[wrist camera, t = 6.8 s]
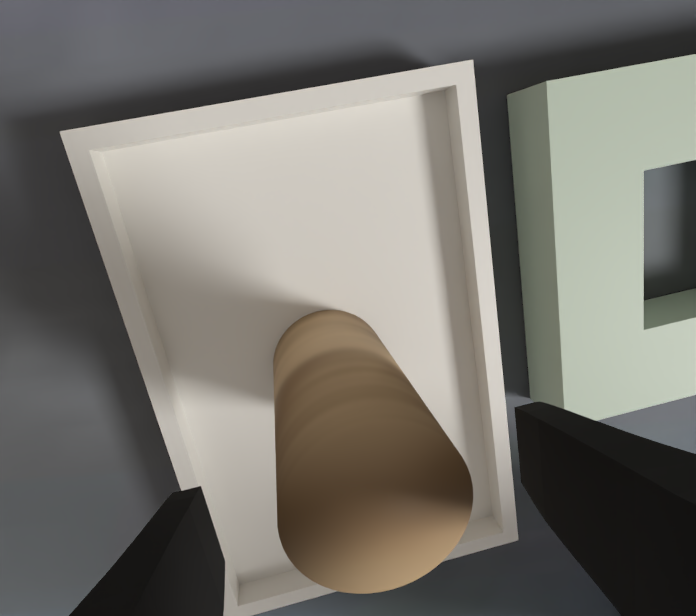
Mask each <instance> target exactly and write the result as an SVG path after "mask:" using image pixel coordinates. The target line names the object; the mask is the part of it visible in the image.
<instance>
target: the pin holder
mask: <svg viewBox="0 0 696 616" xmlns="http://www.w3.org/2000/svg"><path fill="white" fill-rule="evenodd" d="M507 104H508V117H509V130H510V143H511V156H512V169H513V182H514V195H515V208H516V220H517V233H518V246H519V259H520V272H521V285H522V298H523V311H524V324H525V337H526V349H527V362H528V375H529V388H530V399H531V400H532V401H534V402H538V401H540V402H544V403H547V404H551V405H554V406H557V407H560V408H562V409H565V410H568V411H571V412H574V413H576V414H579V415H582V416H584V417H587V418H590V419H592V420H595V421H597V420H600V419H604V418H608V417H612V416H616V415H620V414H623V413H627V412H631V411H635V410H639V409H643V408H647V407H650V406H654V405H658V404H662V403H666V402H670V401H673V400H677V399H681V398H685V397H689V396H693V395H696V288H695V289H691V290H686V291H682V292H678V293H674V294H669V295H665V296H661V297H657V298H652V299H648V300H644V170H649V169H654V168H659V167H663V166H668V165H673V164H678V163H683V162H688V161H693V160H696V54H693V55H688V56H682V57H677V58H671V59H665V60H660V61H654V62H649V63H643V64H638V65H632V66H627V67H621V68H616V69H610V70H605V71H599V72H594V73H588V74H583V75H577V76H572V77H566V78H561V79H555V80H550V81H545V82H542V83H540V84H537V85H534V86H531V87H528V88H525V89H523V90H520V91H517V92H514V93H511V94H508V95H507Z"/></svg>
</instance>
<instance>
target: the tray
mask: <svg viewBox="0 0 696 616" xmlns="http://www.w3.org/2000/svg"><path fill="white" fill-rule="evenodd" d="M59 132H60V135H61V138H62V141H63V144H64V147H65V150H66V153H67V156H68V159H69V162H70V165H71V167H72V170H73V173H74V176H75V179H76V182H77V185H78V188H79V191H80V194H81V197H82V200H83V203H84V206H85V209H86V212H87V215H88V217H89V220H90V223H91V226H92V229H93V232H94V235H95V238H96V241H97V244H98V247H99V250H100V253H101V256H102V259H103V262H104V265H105V268H106V270H107V273H108V276H109V279H110V282H111V285H112V288H113V291H114V294H115V297H116V300H117V303H118V306H119V309H120V312H121V315H122V318H123V321H124V323H125V326H126V329H127V332H128V335H129V338H130V341H131V344H132V347H133V350H134V353H135V356H136V359H137V362H138V365H139V368H140V371H141V373H142V376H143V379H144V382H145V385H146V388H147V391H148V394H149V397H150V400H151V403H152V406H153V409H154V412H155V415H156V418H157V421H158V424H159V426H160V429H161V432H162V435H163V438H164V441H165V444H166V447H167V450H168V453H169V456H170V459H171V462H172V465H173V468H174V471H175V474H176V477H177V479H178V482H179V485H180V488H181V491H183V490H187V489H191V488H195V487H199V486H201V488H202V491H203V494H204V497H205V500H206V503H207V506H208V509H209V512H210V516H211V519H212V522H213V525H214V528H215V531H216V534H217V537H218V540H219V543H220V547H221V550H222V553H223V556H224V559H225V593H224V612H223V615H224V616H252V615H255V614H259V613H262V612H266V611H269V610H273V609H276V608H280V607H284V606H287V605H291V604H294V603H298V602H301V601H305V600H308V599H312V598H315V597H319V596H323V595H326V594H330V593H333V592H337V591H336V590H332V589H329V588H326V587H324V586H321V585H319V584H317V583H315V582H313V581H312V580H310V579H309V578H307V577H306V576H305V575H303V574H302V573H301V572H300V571H299V570H298V569H297V568H296V567H295V566H294V565H293V564H292V562H291V561H290V560H289V558H288V557H287V555H286V553H285V551H284V549H283V547H282V544H281V541H280V538H279V533H278V528H277V492H276V453H275V414H274V376H273V359H274V353H275V350H276V347H277V344H278V342H279V340H280V338H281V337H282V335H283V334H284V333H285V331H286V330H287V329H288V328H289V327H290V326H291V325H292V324H293V323H295V322H296V321H297V320H299V319H300V318H302V317H304V316H306V315H308V314H311V313H314V312H317V311H323V310H340V311H345V312H348V313H351V314H354V315H356V316H358V317H359V318H361V319H362V320H364V321H365V322H366V323H367V324H368V325H370V326H371V328H372V329H373V330H374V331H375V333H376V334H377V336H378V337H379V338H380V340H381V341H382V343H383V344H384V346H385V347H386V349H387V350H388V351H389V353H390V354H391V356H392V357H393V359H394V360H395V361H396V363H397V364H398V366H399V367H400V369H401V370H402V371H403V373H404V374H405V376H406V377H407V379H408V380H409V381H410V383H411V384H412V386H413V387H414V389H415V390H416V391H417V393H418V394H419V396H420V397H421V399H422V400H423V402H424V403H425V404H426V406H427V407H428V409H429V410H430V412H431V413H432V414H433V416H434V417H435V419H436V420H437V422H438V423H439V424H440V426H441V427H442V429H443V430H444V432H445V433H446V434H447V436H448V437H449V439H450V440H451V442H452V443H453V445H454V446H455V447H456V449H457V450H458V452H459V453H460V455H461V456H462V458H463V459H464V461H465V463H466V465H467V467H468V470H469V472H470V475H471V480H472V485H473V506H472V511H471V515H470V519H469V522H468V525H467V527H466V530H465V532H464V533H463V535H462V537H461V539H460V541H459V542H458V543H457V545H456V546H455V548H454V549H453V550H452V552H451V553H450V554H449V555H448V556H447V557H446V558H445V559H444V560H443V561H447V560H450V559H454V558H457V557H461V556H464V555H468V554H471V553H475V552H478V551H482V550H486V549H489V548H493V547H496V546H500V545H503V544H507V543H510V542H514V541H517V540H519V539H518V529H517V518H516V508H515V497H514V486H513V476H512V465H511V455H510V444H509V434H508V423H507V413H506V402H505V392H504V381H503V370H502V360H501V349H500V339H499V328H498V318H497V307H496V297H495V286H494V276H493V265H492V254H491V244H490V233H489V223H488V212H487V202H486V191H485V181H484V170H483V160H482V149H481V139H480V128H479V117H478V107H477V96H476V86H475V75H474V65H473V60H468V61H462V62H456V63H450V64H445V65H439V66H433V67H427V68H422V69H416V70H410V71H404V72H399V73H393V74H387V75H381V76H376V77H370V78H364V79H358V80H353V81H347V82H341V83H335V84H330V85H324V86H318V87H312V88H306V89H301V90H295V91H289V92H283V93H278V94H272V95H266V96H260V97H255V98H249V99H243V100H237V101H232V102H226V103H220V104H214V105H209V106H203V107H197V108H191V109H186V110H180V111H174V112H168V113H163V114H157V115H151V116H145V117H140V118H134V119H128V120H122V121H117V122H111V123H105V124H99V125H93V126H88V127H82V128H76V129H70V130H65V131H59ZM443 561H442V562H443Z"/></svg>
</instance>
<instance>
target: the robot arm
mask: <svg viewBox="0 0 696 616" xmlns="http://www.w3.org/2000/svg"><path fill="white" fill-rule="evenodd" d="M515 418H516V429H517V440H518V451H519V462H520V473H521V483H522V484H523V486H524V488H525V489H526V491H527V492H528V494H529V496H530V497H531V499H532V501H533V502H534V504H535V506H536V507H537V509H538V510H539V512H540V513H541V515H542V516H543V518H544V520H545V521H546V522H547V524H548V525H549V526H550V527H551V529H552V530H553V531H554V533H555V534H556V535H557V536H558V538H559V539H560V540H561V541H562V543H563V544H564V545H565V546H566V547H567V549H568V550H569V551H570V552H571V554H572V555H573V556H574V557H575V559H576V560H577V561H578V562H579V563H580V565H581V566H582V567H583V568H584V570H585V571H586V572H587V573H588V574H589V576H590V577H591V578H592V579H593V581H594V582H595V583H596V584H597V586H598V587H599V588H600V589H601V590H602V592H603V593H604V594H605V595H606V597H607V598H608V599H609V600H610V601H611V603H612V604H613V605H614V606H615V608H616V609H617V610H618V611H619V613H620V614H621V615H622V616H696V454H694V453H690V452H687V451H684V450H680V449H677V448H674V447H671V446H667V445H664V444H661V443H658V442H655V441H652V440H649V439H646V438H643V437H640V436H637V435H634V434H631V433H628V432H625V431H623V430H620V429H617V428H614V427H611V426H609V425H606V424H603V423H601V422H598V421H595V420H592V419H590V418H587V417H584V416H582V415H579V414H576V413H574V412H571V411H568V410H565V409H562V408H560V407H557V406H554V405H551V404H547V403H544V402H540V401H538V402H534V403H530V404H526V405H522V406H518V407H515ZM224 593H225V559H224V556H223V553H222V550H221V547H220V543H219V540H218V537H217V534H216V531H215V528H214V525H213V522H212V519H211V516H210V512H209V509H208V506H207V503H206V500H205V497H204V494H203V491H202V488H201V486H199V487H195V488H191V489H187V490H183V491H179V492H175V493H172V494H171V495H170V497H169V498H168V499H167V500H166V501H165V502H164V504H163V505H162V506H161V507H160V508H159V510H158V511H157V512H156V513H155V515H154V516H153V517H152V518H151V520H150V521H149V522H148V523H147V525H146V526H145V527H144V528H143V530H142V531H141V532H140V534H139V535H138V536H137V537H136V538H135V540H134V541H133V542H132V543H131V545H130V546H129V547H128V548H127V549H126V551H125V552H124V553H123V554H122V556H121V557H120V558H119V559H118V560H117V562H116V563H115V564H114V565H113V566H112V568H111V569H110V570H109V571H108V572H107V573H106V575H105V576H104V577H103V578H102V579H101V580H100V581H99V582H98V584H97V585H96V586H95V587H94V588H93V589H92V590H91V591H90V593H89V594H88V595H87V596H86V597H85V598H84V599H83V600H82V602H81V603H80V604H79V605H78V606H77V607H76V608H75V610H74V611H73V612H72V613H71V614H70V615H69V616H223V612H224Z"/></svg>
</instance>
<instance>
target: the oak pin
mask: <svg viewBox="0 0 696 616" xmlns="http://www.w3.org/2000/svg"><path fill="white" fill-rule="evenodd" d="M273 376H274V414H275V453H276V492H277V528H278V533H279V538H280V541H281V544H282V547H283V549H284V551H285V553H286V555H287V557H288V558H289V560H290V561H291V562H292V564H293V565H294V566H295V567H296V568H297V569H298V570H299V571H300V572H301V573H302V574H303V575H305V576H306V577H307V578H309V579H310V580H312V581H313V582H315V583H317V584H319V585H321V586H324V587H326V588H329V589H332V590H336V591H340V592H345V593H355V594H369V593H377V592H383V591H388V590H392V589H395V588H398V587H401V586H404V585H406V584H409V583H411V582H413V581H415V580H417V579H419V578H420V577H422V576H424V575H425V574H427V573H428V572H430V571H431V570H432V569H434V568H435V567H437V566H438V565H439V564H440V563H441V562H442V561H443V560H444V559H445V558H446V557H447V556H448V555H449V554H450V553H451V552H452V550H453V549H454V548H455V546H456V545H457V543H458V542H459V541H460V539H461V537H462V535H463V533H464V532H465V530H466V527H467V525H468V522H469V519H470V515H471V511H472V506H473V485H472V480H471V475H470V472H469V470H468V467H467V465H466V463H465V461H464V459H463V458H462V456H461V455H460V453H459V452H458V450H457V449H456V447H455V446H454V445H453V443H452V442H451V440H450V439H449V437H448V436H447V434H446V433H445V432H444V430H443V429H442V427H441V426H440V424H439V423H438V422H437V420H436V419H435V417H434V416H433V414H432V413H431V412H430V410H429V409H428V407H427V406H426V404H425V403H424V402H423V400H422V399H421V397H420V396H419V394H418V393H417V391H416V390H415V389H414V387H413V386H412V384H411V383H410V381H409V380H408V379H407V377H406V376H405V374H404V373H403V371H402V370H401V369H400V367H399V366H398V364H397V363H396V361H395V360H394V359H393V357H392V356H391V354H390V353H389V351H388V350H387V349H386V347H385V346H384V344H383V343H382V341H381V340H380V338H379V337H378V336H377V334H376V333H375V331H374V330H373V329H372V328H371V326H370V325H368V324H367V323H366V322H365V321H364V320H362V319H361V318H359V317H358V316H356V315H354V314H351V313H348V312H345V311H340V310H323V311H317V312H314V313H311V314H308V315H306V316H304V317H302V318H300V319H299V320H297V321H296V322H295V323H293V324H292V325H291V326H290V327H289V328H288V329H287V330H286V331H285V333H284V334H283V335H282V337H281V338H280V340H279V342H278V344H277V347H276V350H275V353H274V359H273Z"/></svg>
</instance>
